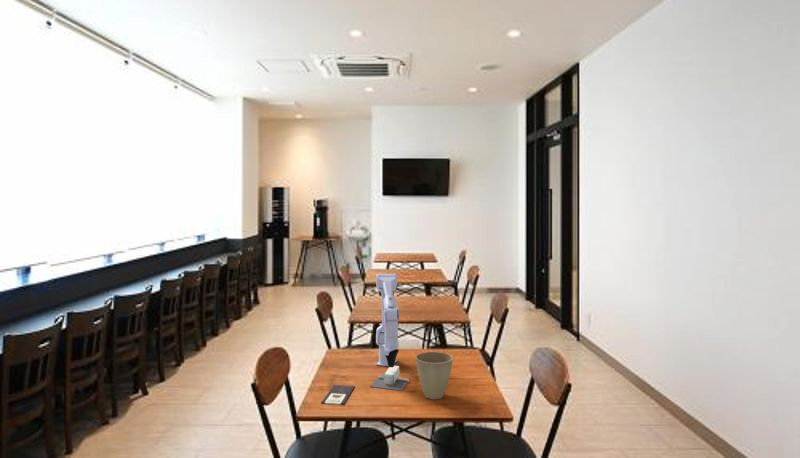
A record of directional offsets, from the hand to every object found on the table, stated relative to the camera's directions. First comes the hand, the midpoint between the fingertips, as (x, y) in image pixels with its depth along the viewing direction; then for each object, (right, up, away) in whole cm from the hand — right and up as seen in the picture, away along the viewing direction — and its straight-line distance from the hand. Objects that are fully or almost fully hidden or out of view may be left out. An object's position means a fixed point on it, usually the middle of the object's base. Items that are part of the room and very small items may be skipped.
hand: (391, 366), depth 211 cm
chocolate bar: (-21, -8, -13) cm, 26 cm away
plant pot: (+18, -8, -14) cm, 24 cm away
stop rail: (+1, -7, +3) cm, 7 cm away
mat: (-1, -7, -2) cm, 8 cm away
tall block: (+2, -3, +5) cm, 6 cm away
